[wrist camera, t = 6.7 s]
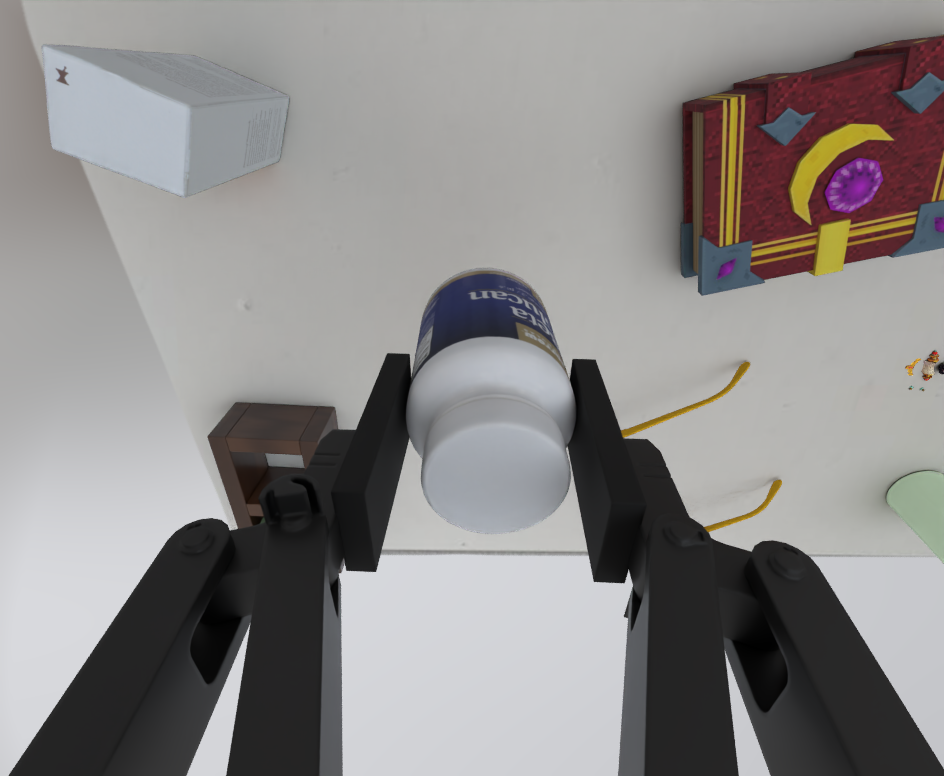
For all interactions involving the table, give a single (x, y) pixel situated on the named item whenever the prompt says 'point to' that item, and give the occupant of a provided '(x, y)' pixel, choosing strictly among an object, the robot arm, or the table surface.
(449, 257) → the table surface
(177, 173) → the cosmetic box
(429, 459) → the pill bottle
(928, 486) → the candle
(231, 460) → the wooden cubby shelf
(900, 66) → the decorative book
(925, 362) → the diorama
